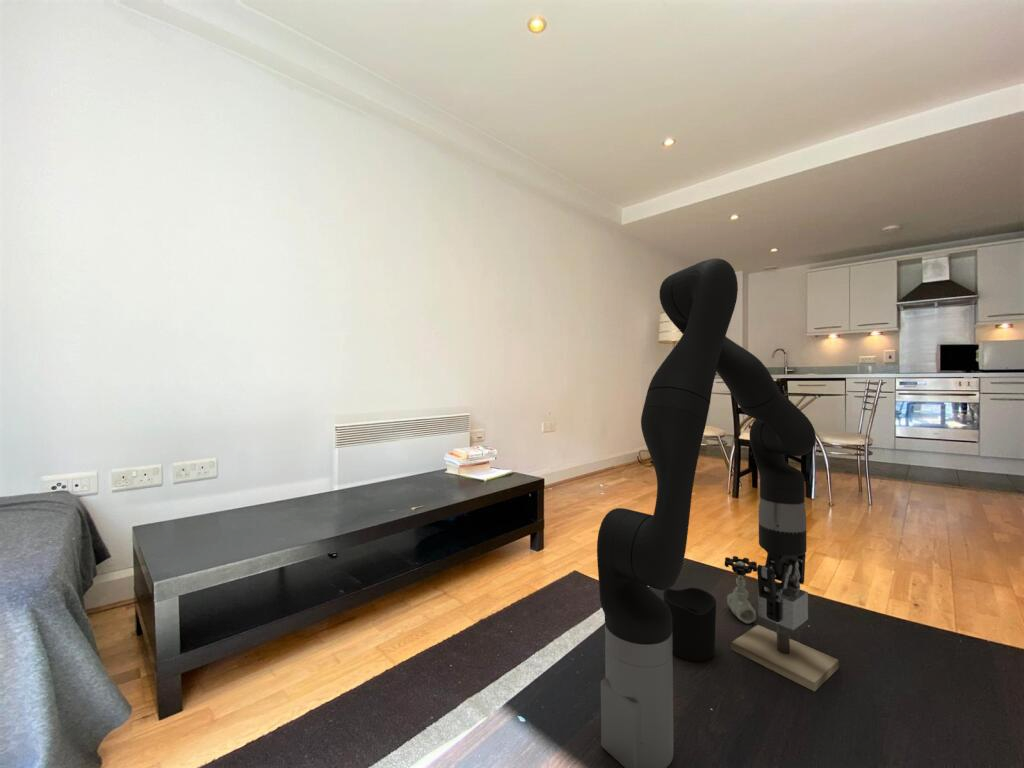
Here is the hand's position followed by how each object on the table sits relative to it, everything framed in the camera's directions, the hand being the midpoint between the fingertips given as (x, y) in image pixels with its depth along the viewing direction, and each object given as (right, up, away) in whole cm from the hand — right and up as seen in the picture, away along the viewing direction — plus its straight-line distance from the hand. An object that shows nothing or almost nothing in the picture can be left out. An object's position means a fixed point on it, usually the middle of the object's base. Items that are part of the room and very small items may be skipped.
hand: (782, 613), depth 82 cm
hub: (0, -1, 0) cm, 1 cm away
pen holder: (-16, -9, +4) cm, 18 cm away
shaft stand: (0, -8, 0) cm, 8 cm away
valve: (0, -8, +14) cm, 17 cm away
